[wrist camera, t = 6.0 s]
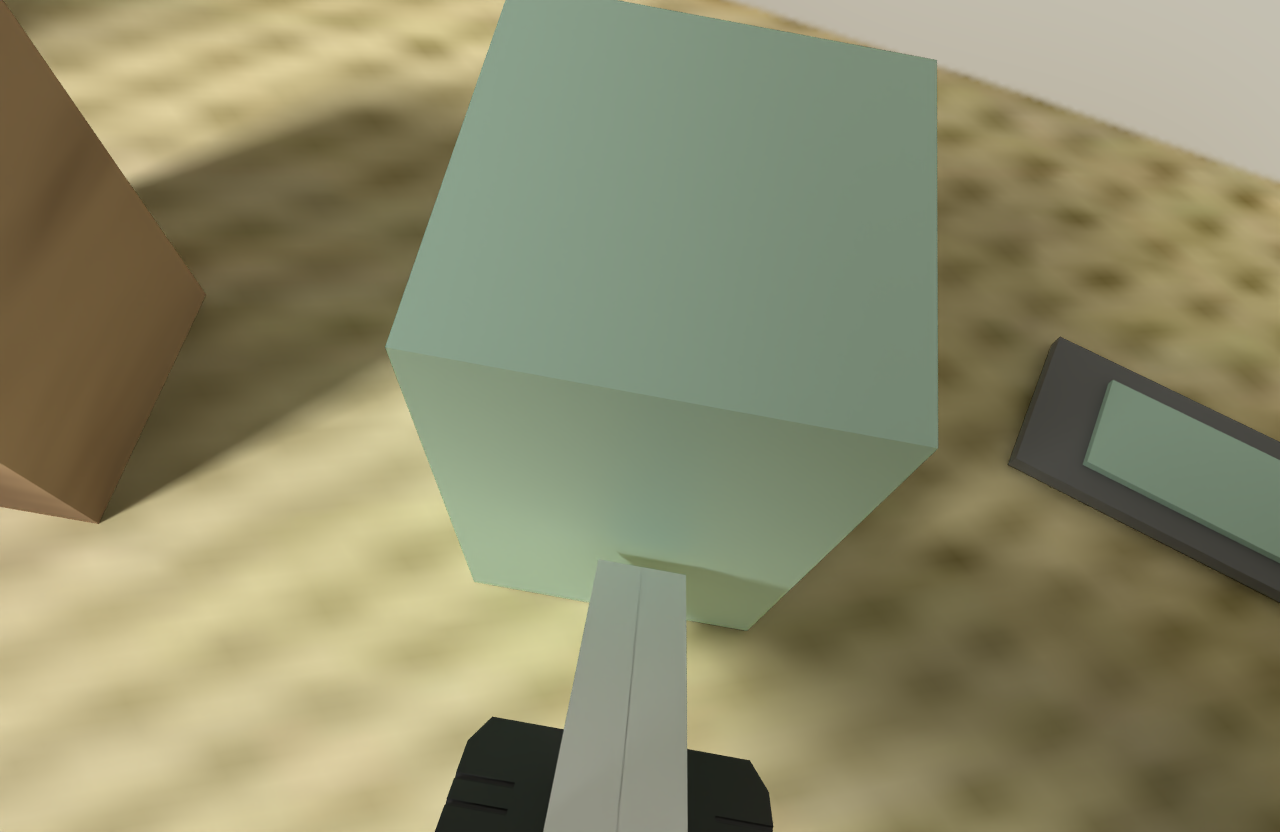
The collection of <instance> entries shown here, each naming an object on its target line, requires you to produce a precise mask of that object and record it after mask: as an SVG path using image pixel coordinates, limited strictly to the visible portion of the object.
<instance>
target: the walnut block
mask: <svg viewBox="0 0 1280 832" xmlns="http://www.w3.org/2000/svg"><path fill="white" fill-rule="evenodd" d="M205 296H206V294H205V292H204V291H203V289H202V288H201V286H200V285H199V283H198V282H197V281H196V279H195V278H194V276H193V275H192V273H191V272H190V270H189V269H188V268H187V266H186V265H185V263H184V262H183V260H182V259H181V257H180V256H179V254H178V253H177V252H176V250H175V249H174V247H173V246H172V244H171V243H170V241H169V240H168V239H167V237H166V236H165V234H164V233H163V231H162V230H161V228H160V227H159V226H158V224H157V223H156V221H155V220H154V218H153V217H152V215H151V214H150V212H149V211H148V210H147V208H146V207H145V205H144V204H143V202H142V201H141V199H140V198H139V197H138V195H137V194H136V192H135V191H134V189H133V188H132V186H131V185H130V183H129V182H128V181H127V179H126V178H125V176H124V175H123V173H122V172H121V170H120V169H119V168H118V166H117V165H116V163H115V162H114V160H113V159H112V157H111V156H110V154H109V153H108V152H107V150H106V149H105V147H104V146H103V144H102V143H101V141H100V140H99V139H98V137H97V136H96V134H95V133H94V131H93V130H92V128H91V127H90V126H89V124H88V123H87V121H86V120H85V118H84V117H83V115H82V114H81V112H80V111H79V110H78V108H77V107H76V105H75V104H74V102H73V101H72V99H71V98H70V97H69V95H68V94H67V92H66V91H65V89H64V88H63V86H62V85H61V83H60V82H59V81H58V79H57V78H56V76H55V75H54V73H53V72H52V70H51V69H50V68H49V66H48V65H47V63H46V62H45V60H44V59H43V57H42V56H41V55H40V53H39V52H38V50H37V49H36V47H35V46H34V44H33V43H32V41H31V40H30V39H29V37H28V36H27V34H26V33H25V31H24V30H23V28H22V27H21V26H20V24H19V23H18V21H17V20H16V18H15V17H14V15H13V14H12V12H11V11H10V10H9V8H8V7H7V5H6V4H5V2H4V1H3V0H0V507H5V508H11V509H16V510H22V511H28V512H34V513H39V514H45V515H51V516H57V517H62V518H68V519H74V520H80V521H85V522H91V523H97V524H99V522H100V520H101V518H102V516H103V514H104V511H105V509H106V507H107V505H108V503H109V501H110V499H111V496H112V494H113V492H114V490H115V488H116V486H117V484H118V482H119V479H120V477H121V475H122V473H123V471H124V469H125V467H126V465H127V462H128V460H129V458H130V456H131V454H132V452H133V450H134V447H135V445H136V443H137V441H138V439H139V437H140V435H141V433H142V430H143V428H144V426H145V424H146V422H147V420H148V418H149V415H150V413H151V411H152V409H153V407H154V405H155V403H156V401H157V398H158V396H159V394H160V392H161V390H162V388H163V386H164V383H165V381H166V379H167V377H168V375H169V373H170V371H171V369H172V366H173V364H174V362H175V360H176V358H177V356H178V354H179V351H180V349H181V347H182V345H183V343H184V341H185V339H186V337H187V334H188V332H189V330H190V328H191V326H192V324H193V322H194V319H195V317H196V315H197V313H198V311H199V309H200V307H201V305H202V302H203V300H204V298H205Z"/></svg>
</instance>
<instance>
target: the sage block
mask: <svg viewBox="0 0 1280 832" xmlns="http://www.w3.org/2000/svg"><path fill="white" fill-rule="evenodd" d="M385 348H386V351H387V354H388V356H389V359H390V362H391V364H392V367H393V369H394V372H395V375H396V377H397V380H398V383H399V385H400V388H401V390H402V393H403V396H404V398H405V401H406V404H407V406H408V409H409V412H410V414H411V417H412V419H413V422H414V425H415V427H416V430H417V433H418V435H419V438H420V440H421V443H422V446H423V448H424V451H425V454H426V456H427V459H428V461H429V464H430V467H431V469H432V472H433V475H434V477H435V480H436V483H437V485H438V488H439V490H440V493H441V496H442V498H443V501H444V504H445V506H446V509H447V511H448V514H449V517H450V519H451V522H452V525H453V527H454V530H455V532H456V535H457V538H458V540H459V543H460V546H461V548H462V551H463V554H464V556H465V559H466V561H467V564H468V567H469V569H470V572H471V575H472V577H473V580H474V582H478V583H484V584H489V585H495V586H500V587H506V588H511V589H517V590H523V591H528V592H534V593H539V594H545V595H550V596H556V597H561V598H567V599H573V600H578V601H584V602H589V603H590V598H591V593H592V589H593V584H594V579H595V574H596V569H597V564H598V559H600V560H606V561H611V562H617V563H622V564H628V565H633V566H639V567H644V568H650V569H655V570H661V571H666V572H672V573H677V574H683V575H686V620H689V621H695V622H700V623H706V624H711V625H717V626H722V627H728V628H733V629H739V630H745V631H747V630H748V629H750V628H751V627H752V626H753V625H754V624H755V623H756V622H757V621H758V620H759V619H760V618H761V617H762V616H763V615H764V614H765V613H766V612H767V611H768V610H769V609H770V608H771V607H773V606H774V605H775V604H776V603H777V602H778V601H779V600H780V599H781V598H782V597H783V596H784V595H785V594H786V593H787V592H788V591H789V590H790V589H791V588H792V587H793V586H795V585H796V584H797V583H798V582H799V581H800V580H801V579H802V578H803V577H804V576H805V575H806V574H807V573H808V572H809V571H810V570H811V569H812V568H813V567H814V566H815V565H816V564H818V563H819V562H820V561H821V560H822V559H823V558H824V557H825V556H826V555H827V554H828V553H829V552H830V551H831V550H832V549H833V548H834V547H835V546H836V545H837V544H838V543H840V542H841V541H842V540H843V539H844V538H845V537H846V536H847V535H848V534H849V533H850V532H851V531H852V530H853V529H854V528H855V527H856V526H857V525H858V524H859V523H860V522H862V521H863V520H864V519H865V518H866V517H867V516H868V515H869V514H870V513H871V512H872V511H873V510H874V509H875V508H876V507H877V506H878V505H879V504H880V503H881V502H882V501H883V500H885V499H886V498H887V497H888V496H889V495H890V494H891V493H892V492H893V491H894V490H895V489H896V488H897V487H898V486H899V485H900V484H901V483H902V482H903V481H904V480H905V479H907V478H908V477H909V476H910V475H911V474H912V473H913V472H914V471H915V470H916V469H917V468H918V467H919V466H920V465H921V464H922V463H923V462H924V461H925V460H926V459H927V458H928V457H930V456H931V455H932V454H933V453H934V452H935V451H936V450H937V449H938V275H937V60H934V59H928V58H923V57H918V56H912V55H907V54H902V53H896V52H891V51H886V50H880V49H875V48H870V47H864V46H859V45H854V44H848V43H843V42H838V41H832V40H827V39H821V38H816V37H811V36H805V35H800V34H795V33H789V32H784V31H779V30H773V29H768V28H763V27H757V26H752V25H747V24H741V23H736V22H731V21H725V20H720V19H715V18H709V17H704V16H699V15H693V14H688V13H683V12H677V11H672V10H666V9H661V8H656V7H650V6H645V5H640V4H634V3H629V2H624V1H618V0H506V1H505V3H504V6H503V9H502V12H501V15H500V18H499V21H498V24H497V27H496V29H495V32H494V35H493V38H492V41H491V44H490V47H489V50H488V52H487V55H486V58H485V61H484V64H483V67H482V70H481V73H480V75H479V78H478V81H477V84H476V87H475V90H474V93H473V96H472V98H471V101H470V104H469V107H468V110H467V113H466V116H465V119H464V121H463V124H462V127H461V130H460V133H459V136H458V139H457V142H456V145H455V147H454V150H453V153H452V156H451V159H450V162H449V165H448V168H447V170H446V173H445V176H444V179H443V182H442V185H441V188H440V191H439V193H438V196H437V199H436V202H435V205H434V208H433V211H432V214H431V216H430V219H429V222H428V225H427V228H426V231H425V234H424V237H423V239H422V242H421V245H420V248H419V251H418V254H417V257H416V260H415V263H414V265H413V268H412V271H411V274H410V277H409V280H408V283H407V286H406V288H405V291H404V294H403V297H402V300H401V303H400V306H399V309H398V311H397V314H396V317H395V320H394V323H393V326H392V329H391V332H390V334H389V337H388V340H387V343H386V346H385Z"/></svg>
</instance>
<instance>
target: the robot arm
mask: <svg viewBox="0 0 1280 832" xmlns="http://www.w3.org/2000/svg"><path fill="white" fill-rule="evenodd" d="M435 832H773V821H772V814H771V806H770V798H769V792H768V790H767V788H766V787H765V785H764V783H763V782H762V780H761V778H760V777H759V775H758V773H757V772H756V770H755V768H754V767H753V765H752V763H751V762H750V760H745V759H739V758H733V757H728V756H722V755H717V754H711V753H706V752H700V751H695V750H689V749H687V660H686V575H683V574H677V573H672V572H666V571H661V570H655V569H650V568H644V567H639V566H633V565H628V564H622V563H617V562H611V561H606V560H600V559H598V564H597V569H596V574H595V579H594V584H593V589H592V593H591V598H590V603H589V608H588V613H587V618H586V623H585V628H584V633H583V638H582V643H581V648H580V653H579V658H578V662H577V667H576V672H575V677H574V682H573V687H572V692H571V697H570V702H569V707H568V712H567V717H566V722H565V727H564V729H558V728H552V727H547V726H541V725H536V724H530V723H525V722H519V721H514V720H508V719H502V718H497V717H492V718H491V719H490V720H488V721H487V722H486V723H485V724H484V725H483V726H482V727H481V728H480V729H479V730H478V731H477V732H476V733H475V734H474V735H473V736H472V737H471V738H470V739H469V740H468V741H467V744H466V747H465V749H464V752H463V755H462V758H461V761H460V763H459V766H458V769H457V772H456V776H455V778H454V780H453V783H452V786H451V788H450V791H449V794H448V797H447V801H446V804H445V805H444V808H443V811H442V813H441V816H440V819H439V822H438V825H437V827H436V830H435Z"/></svg>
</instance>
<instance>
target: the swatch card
mask: <svg viewBox="0 0 1280 832" xmlns="http://www.w3.org/2000/svg"><path fill="white" fill-rule="evenodd" d="M1008 465H1010V466H1012V467H1014V468H1016V469H1018V470H1020V471H1022V472H1024V473H1025V474H1027V475H1029V476H1031V477H1033V478H1035V479H1037V480H1039V481H1041V482H1043V483H1045V484H1047V485H1049V486H1051V487H1053V488H1055V489H1057V490H1059V491H1061V492H1063V493H1065V494H1067V495H1069V496H1071V497H1073V498H1075V499H1077V500H1079V501H1081V502H1083V503H1085V504H1087V505H1089V506H1091V507H1093V508H1094V509H1096V510H1098V511H1100V512H1102V513H1104V514H1106V515H1108V516H1110V517H1112V518H1114V519H1116V520H1118V521H1120V522H1122V523H1124V524H1126V525H1128V526H1130V527H1132V528H1134V529H1136V530H1138V531H1140V532H1142V533H1144V534H1146V535H1148V536H1150V537H1152V538H1154V539H1156V540H1158V541H1160V542H1161V543H1163V544H1165V545H1167V546H1169V547H1171V548H1173V549H1175V550H1177V551H1179V552H1181V553H1183V554H1185V555H1187V556H1189V557H1191V558H1193V559H1195V560H1197V561H1199V562H1201V563H1203V564H1205V565H1207V566H1209V567H1211V568H1213V569H1215V570H1217V571H1219V572H1221V573H1223V574H1225V575H1227V576H1228V577H1230V578H1232V579H1234V580H1236V581H1238V582H1240V583H1242V584H1244V585H1246V586H1248V587H1250V588H1252V589H1254V590H1256V591H1258V592H1260V593H1262V594H1264V595H1266V596H1268V597H1270V598H1272V599H1274V600H1276V601H1278V602H1280V442H1279V441H1277V440H1274V439H1272V438H1270V437H1268V436H1266V435H1264V434H1262V433H1260V432H1258V431H1256V430H1254V429H1252V428H1249V427H1247V426H1245V425H1243V424H1241V423H1239V422H1237V421H1235V420H1233V419H1231V418H1229V417H1227V416H1224V415H1222V414H1220V413H1218V412H1216V411H1214V410H1212V409H1210V408H1208V407H1206V406H1204V405H1202V404H1199V403H1197V402H1195V401H1193V400H1191V399H1189V398H1187V397H1185V396H1183V395H1181V394H1179V393H1176V392H1174V391H1172V390H1170V389H1168V388H1166V387H1164V386H1162V385H1160V384H1158V383H1156V382H1154V381H1151V380H1149V379H1147V378H1145V377H1143V376H1141V375H1139V374H1137V373H1135V372H1133V371H1131V370H1129V369H1126V368H1124V367H1122V366H1120V365H1118V364H1116V363H1114V362H1112V361H1110V360H1108V359H1106V358H1104V357H1101V356H1099V355H1097V354H1095V353H1093V352H1091V351H1089V350H1087V349H1085V348H1083V347H1081V346H1078V345H1076V344H1074V343H1072V342H1070V341H1068V340H1066V339H1064V338H1062V337H1059V338H1058V339H1057V340H1056V341H1055V342H1054V343H1053V344H1052V345H1051V348H1050V351H1049V353H1048V356H1047V359H1046V362H1045V364H1044V367H1043V370H1042V373H1041V375H1040V378H1039V381H1038V384H1037V386H1036V389H1035V392H1034V394H1033V397H1032V400H1031V403H1030V405H1029V408H1028V411H1027V414H1026V416H1025V419H1024V422H1023V425H1022V427H1021V430H1020V433H1019V435H1018V438H1017V441H1016V444H1015V446H1014V449H1013V452H1012V455H1011V457H1010V460H1009V463H1008Z"/></svg>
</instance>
